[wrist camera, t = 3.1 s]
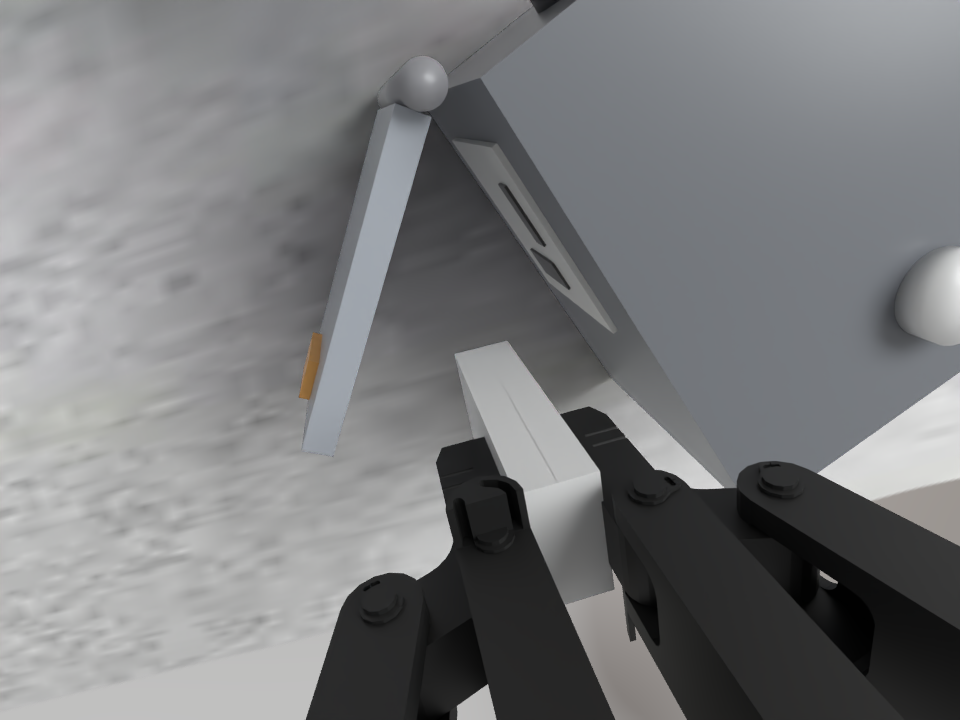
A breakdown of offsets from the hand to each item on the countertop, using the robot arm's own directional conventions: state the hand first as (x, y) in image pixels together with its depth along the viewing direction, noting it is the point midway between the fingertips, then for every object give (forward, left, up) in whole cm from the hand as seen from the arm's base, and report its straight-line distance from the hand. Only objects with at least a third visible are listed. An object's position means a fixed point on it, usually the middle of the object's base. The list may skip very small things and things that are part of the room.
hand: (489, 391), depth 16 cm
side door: (-5, 0, -7) cm, 9 cm away
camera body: (0, +9, -8) cm, 12 cm away
